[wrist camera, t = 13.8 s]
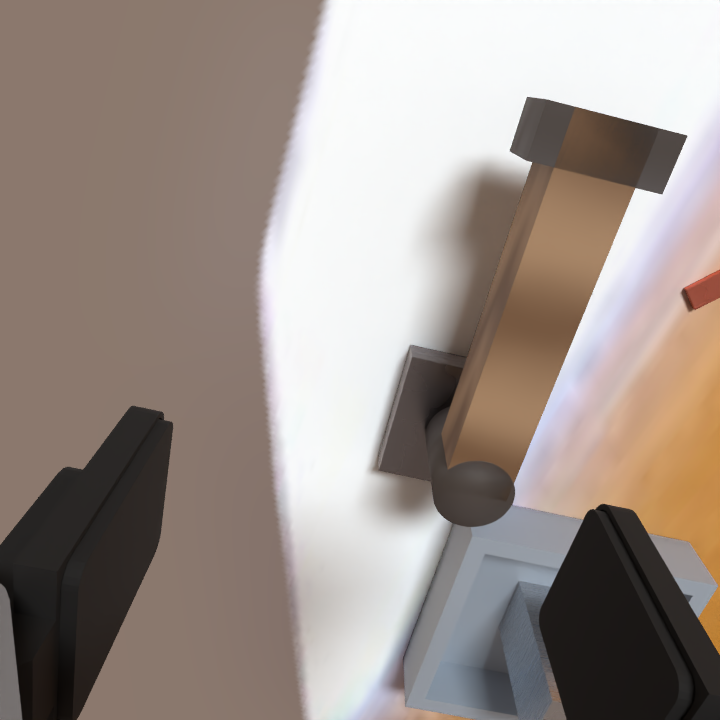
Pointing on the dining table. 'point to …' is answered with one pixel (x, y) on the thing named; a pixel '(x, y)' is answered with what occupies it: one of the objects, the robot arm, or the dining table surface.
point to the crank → (539, 295)
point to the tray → (501, 608)
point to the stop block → (529, 656)
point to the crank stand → (452, 395)
